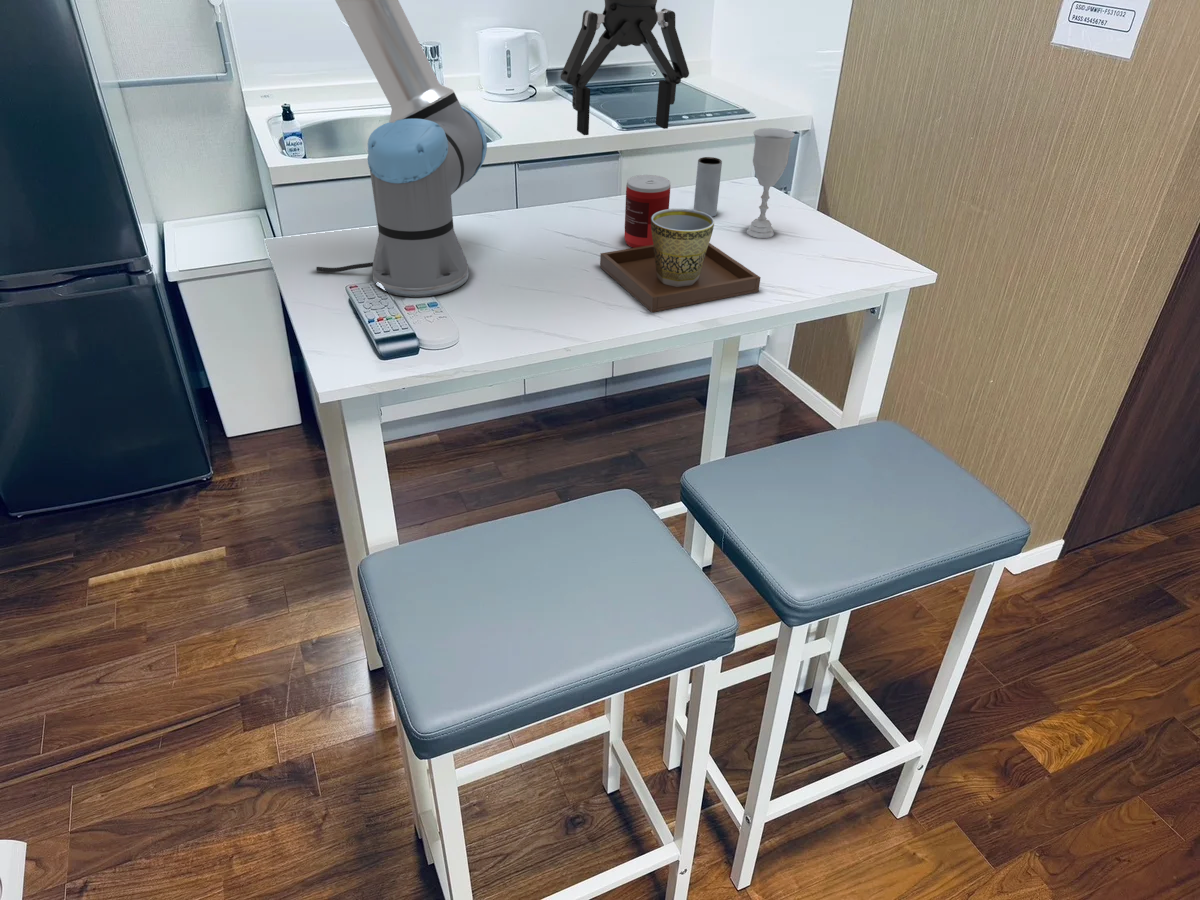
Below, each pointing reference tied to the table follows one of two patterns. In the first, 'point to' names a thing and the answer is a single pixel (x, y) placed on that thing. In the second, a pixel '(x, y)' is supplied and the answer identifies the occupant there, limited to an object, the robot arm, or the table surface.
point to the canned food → (644, 207)
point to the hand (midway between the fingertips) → (622, 129)
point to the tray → (713, 283)
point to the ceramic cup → (680, 244)
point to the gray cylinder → (707, 185)
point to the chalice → (768, 171)
